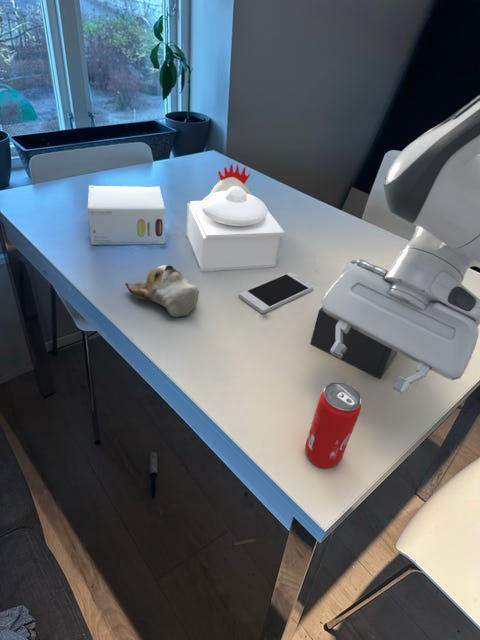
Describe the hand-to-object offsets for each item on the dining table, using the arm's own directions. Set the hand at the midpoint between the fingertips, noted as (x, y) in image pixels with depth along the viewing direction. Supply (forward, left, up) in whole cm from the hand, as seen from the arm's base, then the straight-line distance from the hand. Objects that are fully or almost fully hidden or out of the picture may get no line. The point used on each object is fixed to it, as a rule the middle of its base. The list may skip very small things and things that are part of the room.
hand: (365, 372), depth 59 cm
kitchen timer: (+55, -45, -12) cm, 72 cm away
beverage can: (+1, +6, -12) cm, 13 cm away
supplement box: (+68, -21, -12) cm, 72 cm away
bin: (+7, -21, -12) cm, 25 cm away
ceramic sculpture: (+41, -6, -12) cm, 43 cm away
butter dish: (+45, -32, -12) cm, 56 cm away
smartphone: (+27, -24, -12) cm, 37 cm away
